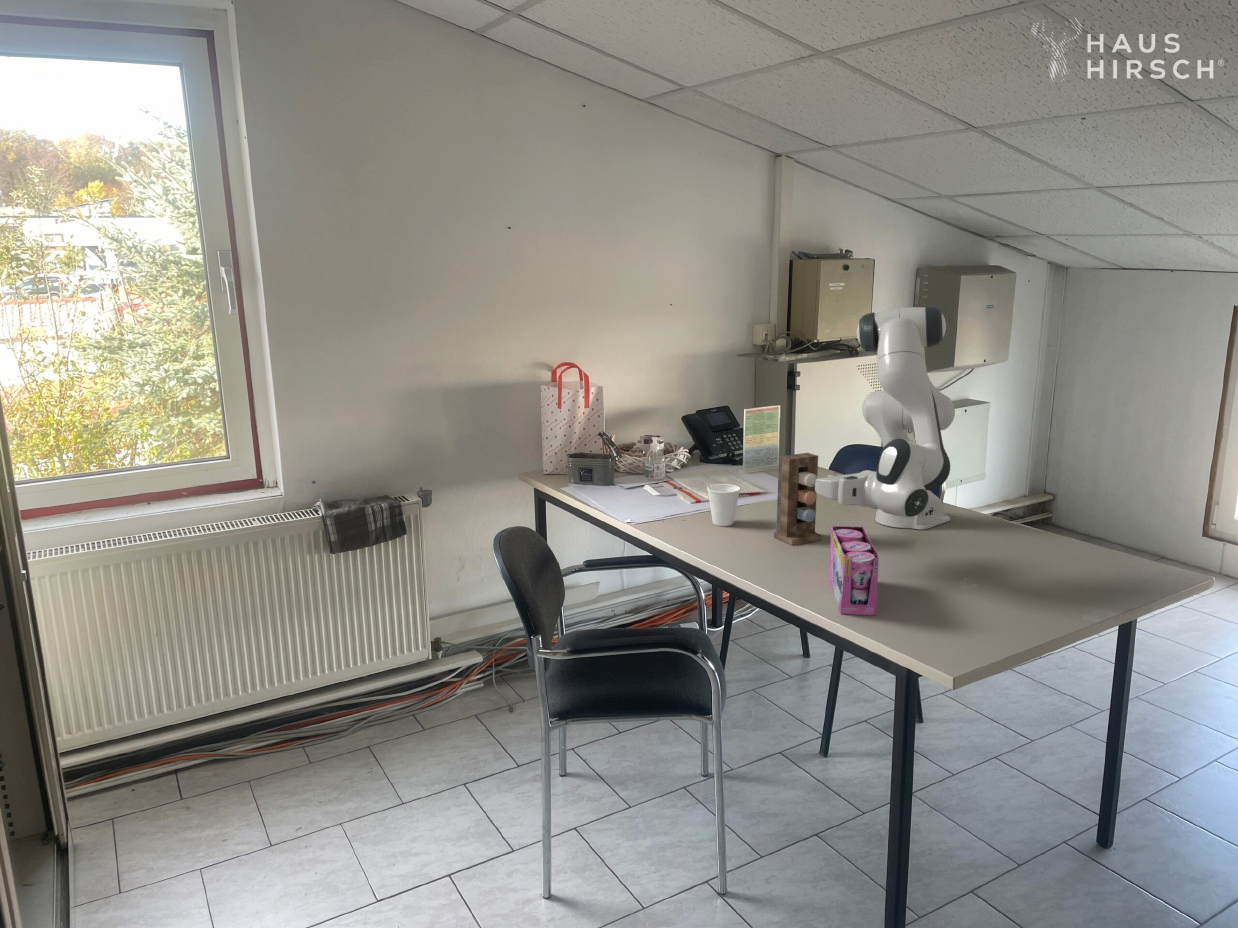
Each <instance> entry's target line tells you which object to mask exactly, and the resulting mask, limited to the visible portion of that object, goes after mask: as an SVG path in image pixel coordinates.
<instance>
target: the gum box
mask: <svg viewBox="0 0 1238 928" xmlns="http://www.w3.org/2000/svg"><path fill="white" fill-rule="evenodd" d="M829 547H830V548H829V567H828V568H829V570H828V571H829V572H828V579H829V583H830V586H831V587H830V588H831V589H832V592H833V596H834V599H835V601H836V604H837V607H838V610H839V613H840V615H855V616H857V615H859V616H876V615H877V614H876V613H877V601H878V600H877V599H878V583H879V582H878V579H879V560H880V557H879V553H878V551H877V549H876V548H875V546H874V545H873V543H872V541H871V540H870V538H869V536H868V534H867V532H866V530H865V529H864V526H840V525H838V526H837V525H835V526H834V525H832V526H831V528H830V545H829Z"/></svg>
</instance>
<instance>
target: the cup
mask: <svg viewBox="0 0 1238 928" xmlns="http://www.w3.org/2000/svg"><path fill="white" fill-rule="evenodd" d="M706 489H707V494H708V499H709V506H710V511H711V512H710V513H711V520H712V523H713V525H714V526H717V527H724V528H725V527H732V525H734V523H735V515H736V512H737V506H738V500H739V496H740V491H741V490H742V489H741V487H740V486H738V485H735V484H729V483H717V484H711V485H708V486H707V487H706Z"/></svg>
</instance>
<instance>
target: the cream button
mask: <svg viewBox="0 0 1238 928" xmlns="http://www.w3.org/2000/svg"><path fill="white" fill-rule="evenodd" d="M817 478H818V475H817V476H816V475H815V474H812V473H809V472H801V473H798V483H800V484H803V485H806V486H809V487H813V486H814V485H815V481H816V479H817Z"/></svg>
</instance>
